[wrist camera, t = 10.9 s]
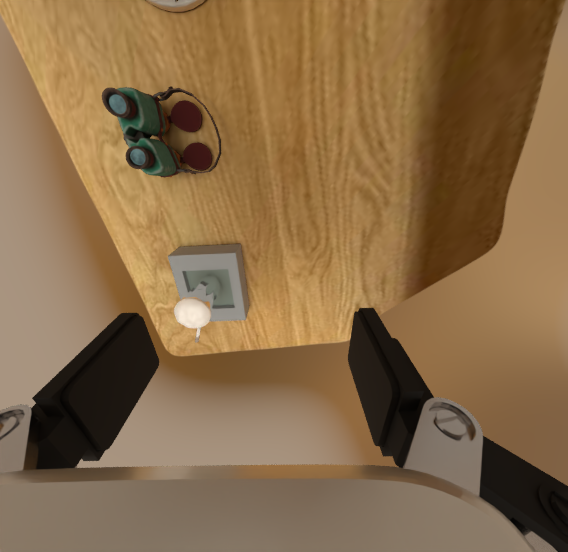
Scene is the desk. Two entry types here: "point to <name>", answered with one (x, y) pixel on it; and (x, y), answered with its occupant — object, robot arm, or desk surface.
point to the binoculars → (157, 131)
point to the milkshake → (198, 304)
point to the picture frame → (224, 266)
